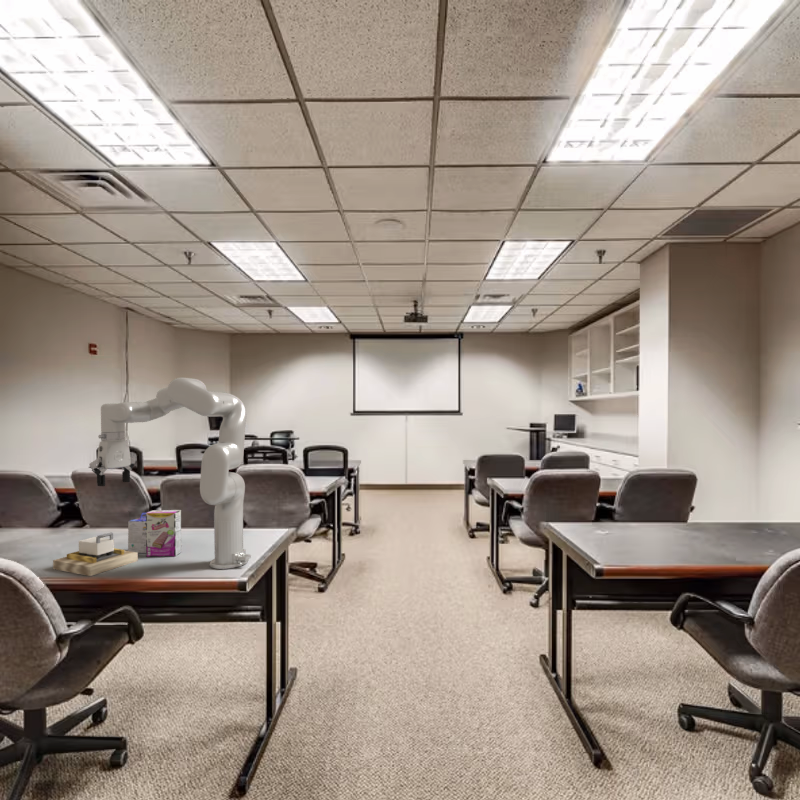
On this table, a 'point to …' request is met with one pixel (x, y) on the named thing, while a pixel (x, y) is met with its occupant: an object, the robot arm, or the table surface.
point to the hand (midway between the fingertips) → (114, 483)
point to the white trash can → (97, 545)
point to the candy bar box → (163, 533)
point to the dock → (94, 562)
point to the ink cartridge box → (137, 535)
